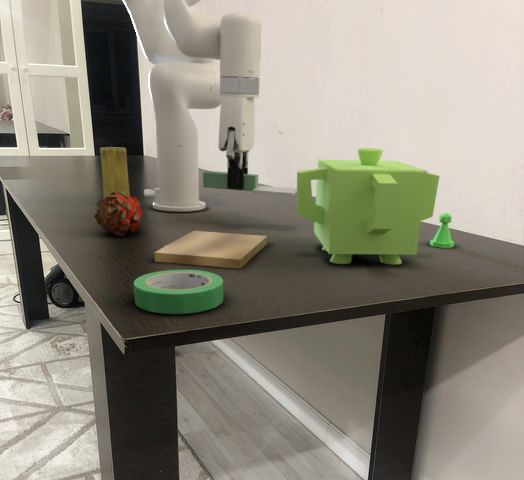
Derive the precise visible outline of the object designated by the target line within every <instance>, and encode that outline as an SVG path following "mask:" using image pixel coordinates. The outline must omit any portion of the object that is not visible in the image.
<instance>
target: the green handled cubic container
mask: <svg viewBox="0 0 524 480" xmlns="http://www.w3.org/2000/svg"><path fill="white" fill-rule="evenodd" d="M383 151H384V150H383V149H381V148H375V147H363V148H358V149H357V155H358V159H359V160H356V159H355V160H354V159H319V160H318V161H317V167H316V168H311V169H303V170H298V171H297V172H296V175H297V176H296V189H297V193H296V214H297V215H299V216H300V217H303V218H306V219H307V220H309V221H312V222H314V223H313V234H314V235H315V236H316V238H317V240H318V241H319V242H320V243H321V245H322V247H321V250H322V251H326V252H327V253H328V255H332V256H331V257H330V259H329V262H331V263H333V264H338V265H347V264H351V263H352V260H353V256H354V255H379V260H380V261H379V262H381V263H382V264H386V265H401V264H402V259H401V258H400V256H399V255H402V256H403V255H404V256H406V255H407V256H411V255H412V256H416V255H417V254H418V247H419V241H420V240H419V239H420V233H421V225H422V221H425V220H427V219H430V218H433V215H434V210H435V205H436V198H437V194H438V187H439V182H440V175H438V174H434V173H429V172H428V170H426V169H423V168H420V167H417V166H414V165H410V164H407V163H404V162H400V161H398V160H380V159H381V157H382V155H383ZM312 181H316V189H315V203H314V202H313V189H312Z"/></svg>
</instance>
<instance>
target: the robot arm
mask: <svg viewBox="0 0 524 480" xmlns="http://www.w3.org/2000/svg"><path fill="white" fill-rule="evenodd" d="M200 1H201V0H122V2H123V3H124V5H125V8H126V9H127V12H128V13H129V15H130V18H131V21H132V24H133V27H134V30H135V32H136V33H135V34H136V36H137V38H138V41H139V44H140V46H141V47H140V48H141V49H142V52H143V55H144V56H145V58H146V59H147V61H148V62H149V63H151V64H152V65H154V66H153V67H152V68H151V70H150V71H149V74H148V89H149V93H150V98H151V102H152V109H153V116H154V124H155V125H154V126H155V143H156V164H157V165H156V166H157V184H158V187H156V188H154V189H150V188H145V189H144V190H143V196H144V198H145V199H154V202H152V209H154V210H157V211H161V212H171V213H189V212H197V211H202V210H205V209H206V207H207V206H206V205H207V204H206V202H204V201H202V200H200V192H199V191H200V186H199V185H200V183H199V182H200V181H199V137H198V136H199V135H198V133H199V132H198V128H197V125H196V122H195V120H194V118H193V117H192V115H191V113H190V111H189V110H212V109H216V108H219V107H220V109H219V110H220V111H219V126H218V150H219V151H220V152H226V153H225V156H226V158H227V162H226V163H227V165H226V167H227V172H228V174H227V188H228V189H227V190H230V189H237V190H236V191H242V189H243V179H244V174H249V154H250V153H249V152H250V150H252V149H253V148H254V145H255V143H254V142H255V131H256V129H255V128H256V127H255V124H256V123H255V122H256V115H255V114H256V113H255V112H256V110H255V109H256V107H255V98H257V99H259V98H260V77H261V50H262V49H261V47H262V22H261V19H260V17H259V16H258V15H256V14H253V13H248V12H228V13H225V14H224V15H219V14H213V13H206V12H197V11H193V10H191V7H193V6H195V5H197V4H198V3H200Z"/></svg>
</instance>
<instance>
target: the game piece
mask: <svg viewBox="0 0 524 480" xmlns="http://www.w3.org/2000/svg"><path fill="white" fill-rule="evenodd" d="M452 218H453V217H452V214H449V213H448V212H444V213H442V214H439V217H438V219H439V223H441V224H440V226H439V228H438V230H437V231H436V233H435V235H434V237H433V238H432V239H430V240H429V245H430V246H431V247H435V248H440V249H451V248H453V247H455V241H453V240H452V236H451V232H450V227H449V224H450V223H452Z"/></svg>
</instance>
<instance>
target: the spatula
mask: <svg viewBox="0 0 524 480" xmlns="http://www.w3.org/2000/svg"><path fill="white" fill-rule="evenodd" d="M227 174H228V171H227V172H226V171H213V170H206V171H202V181H203V182H202V187H203V188H207V189H216V190H217V189H219V190H230V191H231V190H232V191H238V190H237V189H228V188H227ZM241 192H252V193H253V194H262V195H263V194H264V195H274V196H287V197H293V196H294V195H296V194H297V188H296V187H295V188H294V187H293V188H292V187H281V186H270V185H269V186H268V185H259V174H252V173H248V174H244V179H243V189H242V190H241Z"/></svg>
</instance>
